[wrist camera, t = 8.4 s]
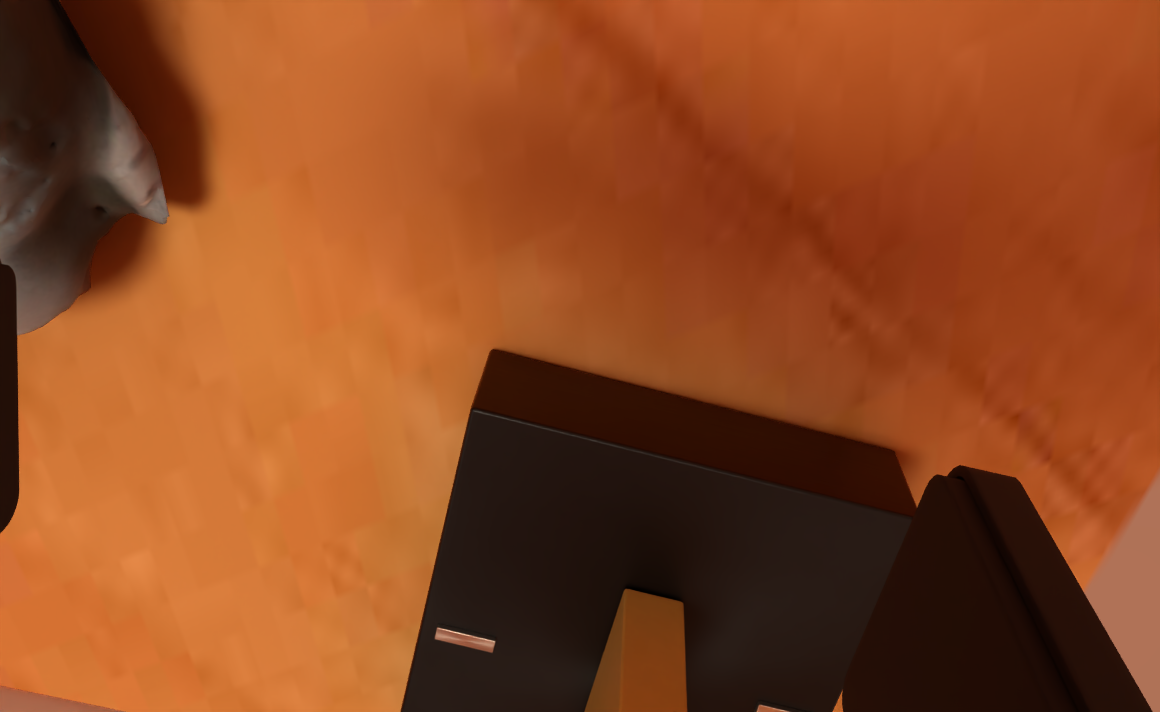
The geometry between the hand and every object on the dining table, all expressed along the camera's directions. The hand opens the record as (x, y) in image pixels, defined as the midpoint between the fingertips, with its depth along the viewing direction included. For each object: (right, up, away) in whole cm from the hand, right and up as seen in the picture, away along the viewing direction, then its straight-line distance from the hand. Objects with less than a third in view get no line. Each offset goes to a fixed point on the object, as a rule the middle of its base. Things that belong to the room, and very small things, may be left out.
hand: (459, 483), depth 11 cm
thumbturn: (+2, -6, +14) cm, 16 cm away
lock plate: (+2, -5, +17) cm, 18 cm away
